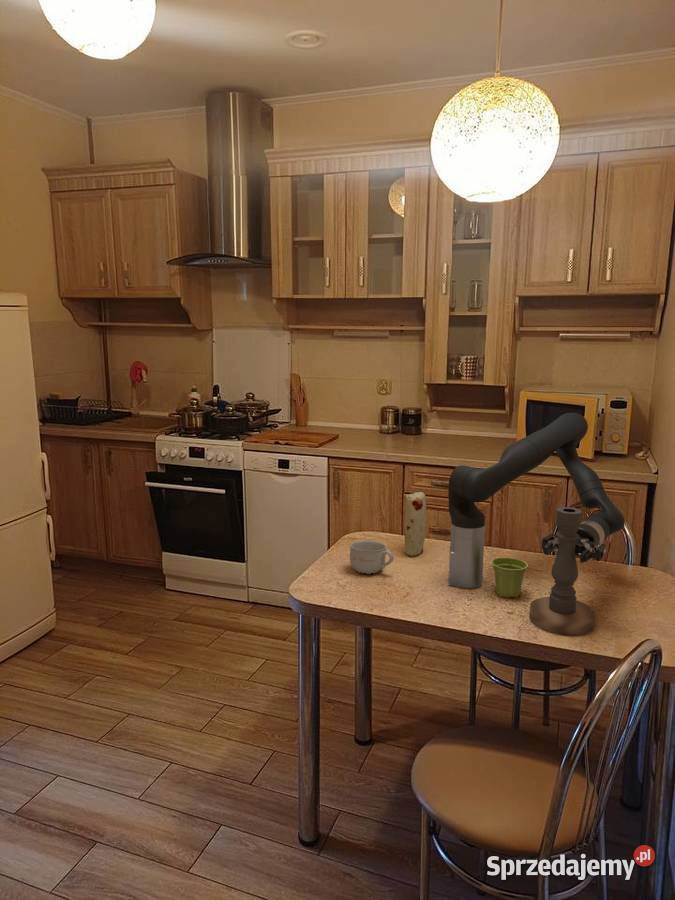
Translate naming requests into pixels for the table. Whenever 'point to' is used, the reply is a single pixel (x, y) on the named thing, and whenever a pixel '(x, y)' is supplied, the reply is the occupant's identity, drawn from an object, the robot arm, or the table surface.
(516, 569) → the plant pot
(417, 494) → the food model
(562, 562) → the candle holder
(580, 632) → the walnut plinth
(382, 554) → the teacup
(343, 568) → the table surface
